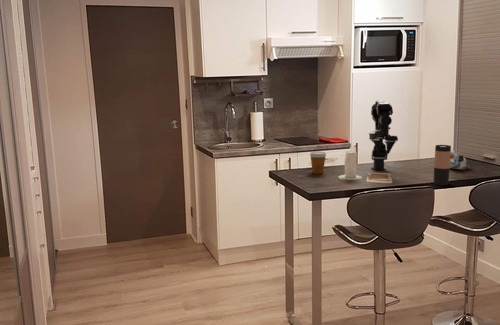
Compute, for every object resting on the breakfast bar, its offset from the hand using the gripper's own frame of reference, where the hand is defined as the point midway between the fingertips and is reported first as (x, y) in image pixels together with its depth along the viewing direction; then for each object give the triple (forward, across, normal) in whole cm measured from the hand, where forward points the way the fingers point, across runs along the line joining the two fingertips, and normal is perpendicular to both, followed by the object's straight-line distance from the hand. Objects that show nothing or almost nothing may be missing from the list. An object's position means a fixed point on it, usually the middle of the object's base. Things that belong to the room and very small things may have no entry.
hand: (382, 153), depth 268 cm
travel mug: (+15, +29, +16) cm, 36 cm away
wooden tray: (+14, +12, -11) cm, 22 cm away
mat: (+14, 0, -21) cm, 25 cm away
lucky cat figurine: (+11, +2, +51) cm, 53 cm away
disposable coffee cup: (+13, -22, -30) cm, 39 cm away
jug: (+13, +1, -22) cm, 26 cm away
